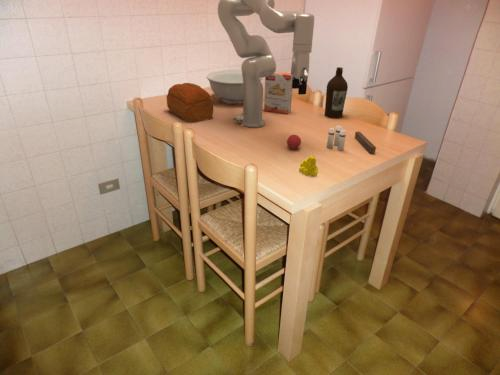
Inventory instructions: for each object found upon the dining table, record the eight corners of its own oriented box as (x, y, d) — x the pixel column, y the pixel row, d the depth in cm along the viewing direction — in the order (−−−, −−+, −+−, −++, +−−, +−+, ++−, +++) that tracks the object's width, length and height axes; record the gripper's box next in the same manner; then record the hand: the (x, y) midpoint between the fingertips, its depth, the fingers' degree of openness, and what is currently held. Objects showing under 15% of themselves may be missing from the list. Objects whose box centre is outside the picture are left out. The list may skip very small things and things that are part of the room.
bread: (189, 124, 177) (187, 92, 169) (165, 110, 195) (162, 81, 187) (216, 118, 186) (215, 87, 178) (191, 105, 204) (189, 77, 196)
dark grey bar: (370, 153, 149) (371, 147, 148) (354, 137, 165) (355, 131, 163) (374, 153, 149) (376, 147, 148) (358, 137, 165) (359, 131, 164)
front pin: (327, 148, 153) (330, 129, 149) (325, 146, 156) (328, 127, 151) (333, 148, 154) (335, 129, 149) (331, 146, 156) (334, 127, 152)
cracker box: (263, 111, 197) (265, 72, 187) (267, 108, 202) (268, 70, 192) (287, 114, 193) (290, 75, 182) (291, 111, 197) (294, 72, 187)
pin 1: (334, 146, 156) (337, 127, 152) (333, 143, 158) (335, 125, 154) (340, 145, 156) (343, 127, 152) (338, 143, 158) (341, 125, 154)
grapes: (307, 166, 139) (309, 147, 135) (321, 174, 133) (323, 155, 129) (295, 169, 136) (297, 150, 132) (308, 177, 130) (311, 158, 126)
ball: (287, 151, 150) (288, 137, 147) (285, 145, 155) (286, 132, 152) (301, 150, 151) (303, 137, 148) (298, 145, 156) (299, 132, 153)
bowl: (227, 111, 195) (226, 84, 188) (197, 97, 218) (196, 73, 210) (272, 102, 212) (273, 77, 205) (240, 90, 234) (241, 67, 227)
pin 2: (338, 150, 152) (341, 131, 147) (336, 148, 154) (339, 129, 150) (344, 150, 152) (347, 131, 148) (342, 148, 154) (345, 129, 150)
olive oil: (320, 113, 196) (325, 66, 184) (338, 112, 198) (344, 65, 186) (328, 119, 187) (334, 70, 175) (346, 118, 189) (354, 69, 177)
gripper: (287, 45, 149) (284, 86, 157) (299, 51, 134) (295, 97, 142) (304, 44, 150) (301, 86, 158) (318, 51, 135) (313, 96, 143)
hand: (298, 91), depth 150 cm, fingers open, 9 cm apart
